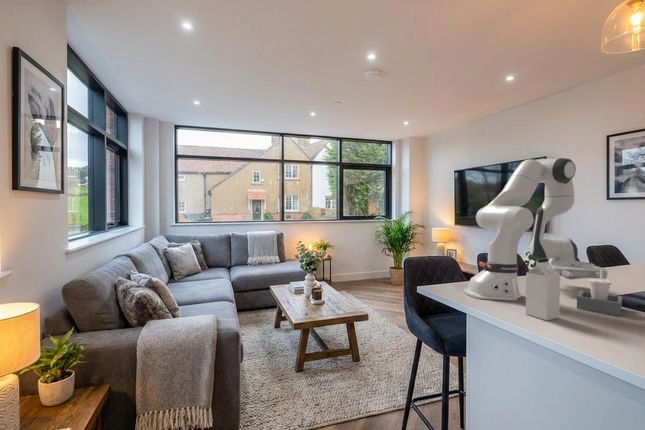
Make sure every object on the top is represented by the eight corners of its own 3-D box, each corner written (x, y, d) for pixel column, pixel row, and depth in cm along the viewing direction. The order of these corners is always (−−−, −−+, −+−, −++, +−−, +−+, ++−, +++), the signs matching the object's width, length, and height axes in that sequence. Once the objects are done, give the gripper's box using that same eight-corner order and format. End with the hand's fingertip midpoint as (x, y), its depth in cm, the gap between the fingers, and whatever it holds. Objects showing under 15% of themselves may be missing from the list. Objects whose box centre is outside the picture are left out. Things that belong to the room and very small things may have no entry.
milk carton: (525, 314, 109) (526, 261, 109) (538, 311, 112) (538, 260, 112) (546, 321, 103) (547, 265, 102) (559, 318, 106) (560, 263, 105)
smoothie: (615, 309, 112) (615, 271, 112) (595, 308, 114) (595, 270, 113) (602, 304, 119) (603, 268, 118) (583, 303, 120) (584, 267, 120)
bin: (620, 316, 108) (620, 303, 108) (576, 308, 116) (576, 296, 116) (621, 308, 116) (622, 296, 116) (580, 301, 125) (580, 290, 124)
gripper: (543, 261, 143) (554, 266, 130) (597, 263, 137) (615, 269, 124) (543, 274, 144) (554, 281, 131) (596, 277, 137) (614, 285, 124)
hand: (584, 275), depth 127 cm, fingers open, 8 cm apart
